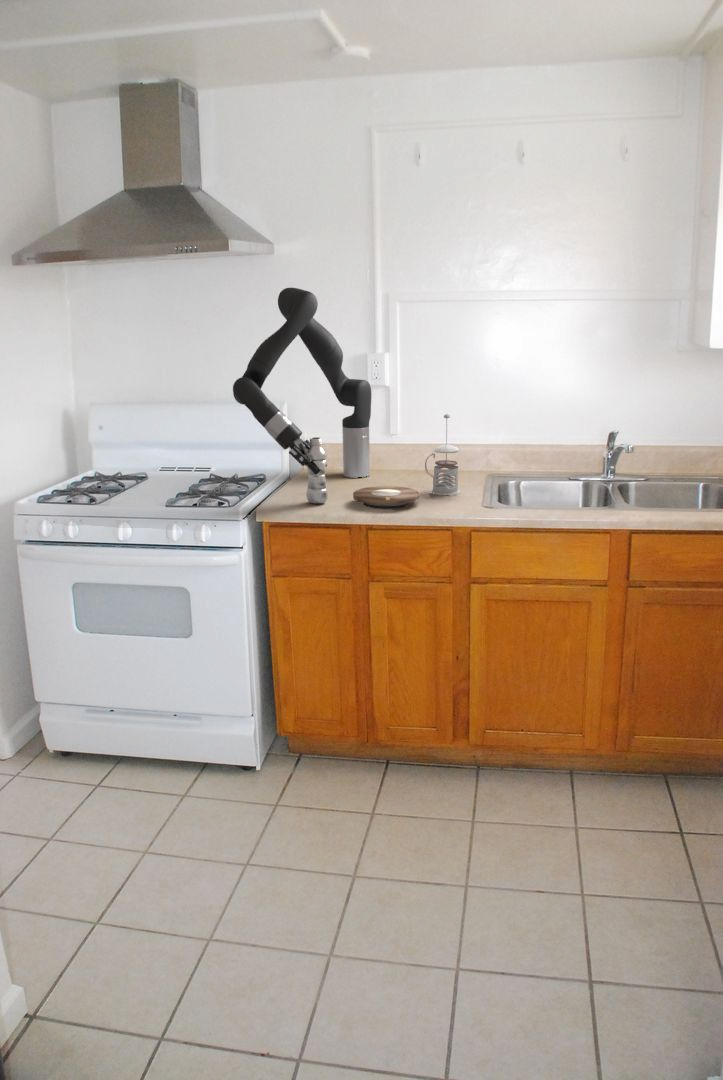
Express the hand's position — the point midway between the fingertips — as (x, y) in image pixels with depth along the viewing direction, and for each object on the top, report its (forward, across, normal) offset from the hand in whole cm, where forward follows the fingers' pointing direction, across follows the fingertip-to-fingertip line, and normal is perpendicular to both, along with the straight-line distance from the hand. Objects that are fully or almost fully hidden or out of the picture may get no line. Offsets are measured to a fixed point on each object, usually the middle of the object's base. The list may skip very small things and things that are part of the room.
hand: (321, 470), depth 268 cm
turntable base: (+21, +4, -6) cm, 22 cm away
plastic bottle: (+6, 0, +9) cm, 11 cm away
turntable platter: (+19, +3, -8) cm, 21 cm away
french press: (+31, +22, -16) cm, 42 cm away
